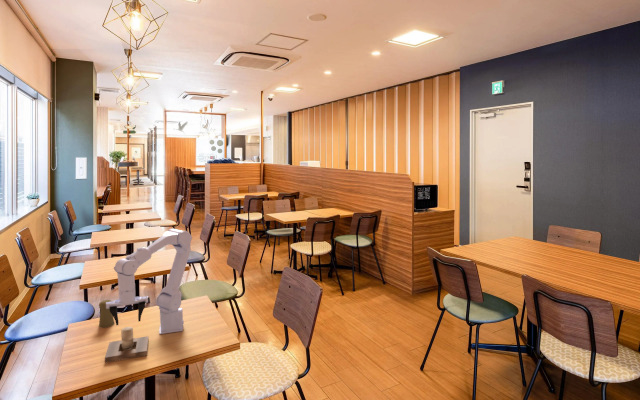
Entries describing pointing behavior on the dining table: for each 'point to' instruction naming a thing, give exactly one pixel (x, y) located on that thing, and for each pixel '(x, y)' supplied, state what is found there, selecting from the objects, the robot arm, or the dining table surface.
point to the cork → (105, 315)
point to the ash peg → (127, 338)
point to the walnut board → (116, 354)
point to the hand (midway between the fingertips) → (128, 322)
